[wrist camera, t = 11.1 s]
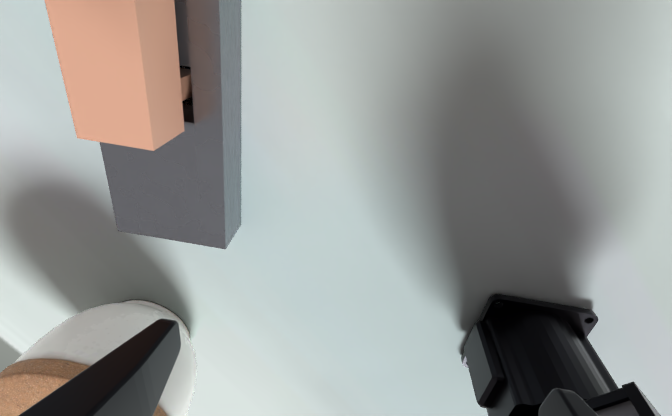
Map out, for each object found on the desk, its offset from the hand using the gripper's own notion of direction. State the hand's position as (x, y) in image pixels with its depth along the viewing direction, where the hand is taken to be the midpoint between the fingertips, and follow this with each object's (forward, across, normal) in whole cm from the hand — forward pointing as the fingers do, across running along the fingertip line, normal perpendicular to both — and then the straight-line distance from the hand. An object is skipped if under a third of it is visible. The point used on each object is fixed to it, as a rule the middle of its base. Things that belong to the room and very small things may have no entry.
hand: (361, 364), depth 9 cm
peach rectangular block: (+12, +10, -6) cm, 17 cm away
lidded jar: (+12, +14, +16) cm, 25 cm away
